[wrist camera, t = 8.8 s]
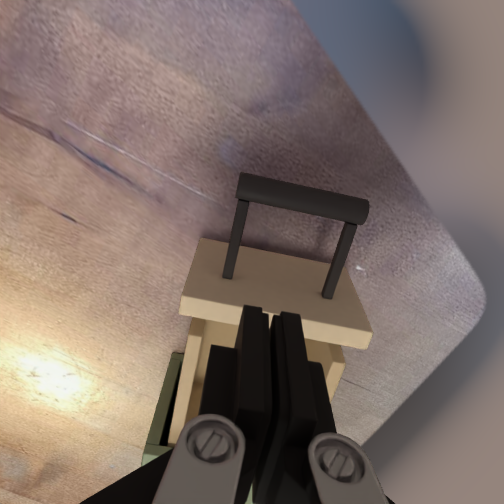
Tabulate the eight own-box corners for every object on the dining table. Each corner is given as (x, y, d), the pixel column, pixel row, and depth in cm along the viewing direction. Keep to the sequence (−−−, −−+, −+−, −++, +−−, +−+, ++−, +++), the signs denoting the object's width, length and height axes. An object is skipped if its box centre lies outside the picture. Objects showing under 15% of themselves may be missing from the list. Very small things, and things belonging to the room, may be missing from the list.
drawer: (216, 147, 26) (201, 179, 19) (375, 182, 27) (418, 226, 20) (175, 376, 34) (153, 460, 26) (299, 398, 34) (310, 486, 27)
